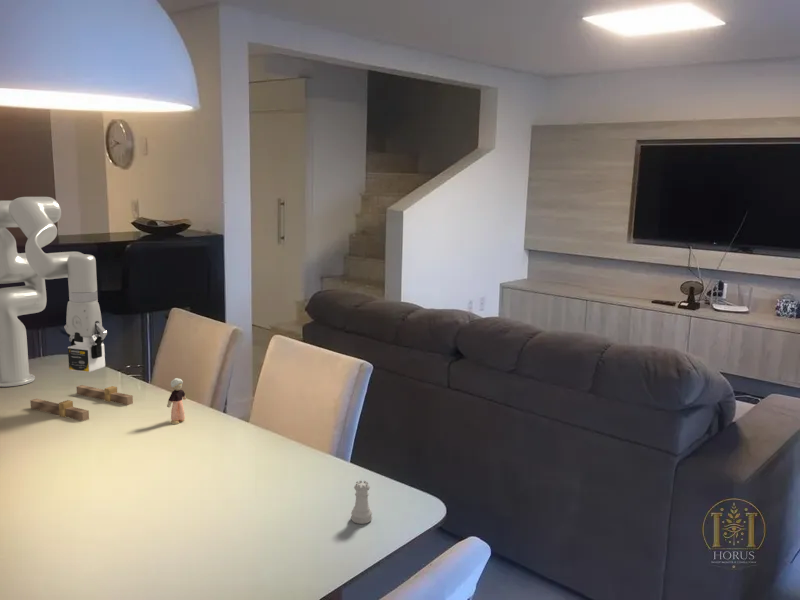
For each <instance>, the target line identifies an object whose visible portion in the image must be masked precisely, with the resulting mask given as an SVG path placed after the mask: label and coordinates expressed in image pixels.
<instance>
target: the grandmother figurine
mask: <svg viewBox="0 0 800 600" xmlns="http://www.w3.org/2000/svg"><path fill="white" fill-rule="evenodd" d="M183 382H184V381H183V380H182V379H181V378H179V377H176V378H174V379H172V380H171V382H170V386H171V388H172V389H173V390H172V391H171V394H170V395H169V398H168V400H167V404H166V407H167V408H171V411H170V413H171V414H170V422H169V423H170V424H171V425H178V424H180V423H182V422H184V421H185V419H186V414H185V409H184V404H183V401H185V400H187V397H186V392H184V390H183V389H182V387H183Z"/></svg>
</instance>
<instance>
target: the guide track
mask: <svg viewBox="0 0 800 600" xmlns="http://www.w3.org/2000/svg"><path fill="white" fill-rule="evenodd" d="M76 394H77V395H79V396H83V397H89V398H92V399H93V398H94V399H97V400H101V401H105V402H108V403H111V402H112V403H115V404H119V405H120V404H121V405H124V406H129V405H132V404H133V403H134V400H133V397H134V396H133V395H131V394H127V393H122V392H118V387H117V386H115V385H114V386H113V385H111V386H109V387H106V388H97V387H94V386H88V385H83V384H81V385H78V386H76ZM30 409H32V410H35V411H40V412H43V413H44V412H45V413H49V414H52V415H57V416H59V417H61V418H69V419H73V420H76V421H77V420H78V421H81V422H85V421H87V420H89V419H90V414H89V413H90V411H89V410H88V409H83V408H79V407H74V401H73V400H69V399H67V400H63V401H59V402H58V403H57V402H52V401H49V400H44V399H40V398H33V399H31V400H30Z"/></svg>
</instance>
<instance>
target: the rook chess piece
mask: <svg viewBox="0 0 800 600" xmlns="http://www.w3.org/2000/svg"><path fill="white" fill-rule="evenodd" d="M353 488H354V490H355V493H354V495H355V503H354V506H353V509H352V510H351V513H350V515H351V516H350V519H351V521H352V522H353V523H355V524H358V525H365V524H368V523H370V522H371V521H372V520H373V511H372V509H371V507H370V506H369V497H368V496H370V494H369V493H368V491H369V490H370V488H371V486H370V485H369V482H368V481H367V480H363V481H362V479H360V480H359V481H356V482H355V485H354V487H353Z"/></svg>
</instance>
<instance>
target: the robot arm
mask: <svg viewBox="0 0 800 600" xmlns="http://www.w3.org/2000/svg"><path fill="white" fill-rule="evenodd" d="M61 218H62V209H61V206H60V204H59V203H58V201H57V200H56V199H55V198H53V197H50V196H21V197H17V198H15V199H12V200H0V284H1V285H2V284H3V285H4V284H14V283H24V284H25V285H21V286H20V285H19V286H10V287H9V286H8V287H1V288H0V387H3V388H4V387H5V388H6V387H7V388H8V387H17V386H23V385H26V384H30V383H32V382H34V381H35V379H36V376H35V375H34V374H32V373H30V367H29V366H30V365H29V355H28V354H29V353H28V339H27V338H28V337H27V329H26V326H25V325H24V323H23V322H22V321H21V320H20V319H19V318H18V317H20V316H23V315H30V314H36V313H37V314H38V313H40V312H42V311H44V310H45V309H46V306H47V301H48V300H47V298H48V297H47V290H46V289H47V287H46V280H54V279H64V278H67V281H68V297H69V298H68V299H69V301H67V305H66V318H65V319H66V322H65V323H66V324H65V325H64V326H63V327H64V331H65V332H66V335H67V336H68V341H69V343H70V346H73V345H76V344H75V340H74V335H75V333H76V332H77V333H80V336H82V337H87V338H88V337H90V340H91V342H92V344H93V345H91V353H92V358H93V359H95V358H99V357H102V345H101V344H104V342H105V339H106V336H107V335H108V331H107V330H106V329H105V328H104V326H103V322H102V321H103V320H102V313H101V307H100V304H99V302H98V301H99V300H98V299H99V298H98V295H99V294H98V280H97V279H98V278H97V261H96V257H95V256H94V255H92V254H87V253H86V254H84V253H82V252H80V251H62V252H61V251H59V252H48V253H46V252H44V251H43V249H42V248H44V247H46V246H48V245H49V244H50V243H52V242H53V241H54V240H55V239H56V237H57V236H58V229H57V226H56V225H55V223H57V222H58V221H60V219H61ZM8 228H19V229H20V230H21V232H22V233H23V234H24V235H25V237H26V238H27V240H26V243H25V246H24V247H25V249H24V251H25V252H21V253H20V252H18V248H17V241H16V238H15V236H14V235H13V234H12V233H11V232H10V231H9V229H8ZM94 333H95V334H94ZM94 337H96V338H97V339H96V340H95V338H94Z"/></svg>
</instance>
